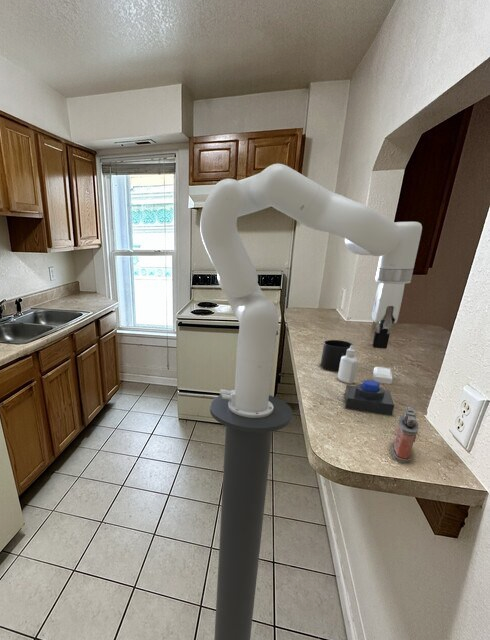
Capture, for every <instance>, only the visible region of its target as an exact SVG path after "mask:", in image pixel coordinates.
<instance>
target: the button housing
mask: <svg viewBox="0 0 490 640" xmlns="http://www.w3.org/2000/svg"><path fill="white" fill-rule="evenodd" d="M362 384H363V383H357V384H356V385H350V384H346V386H345V389H344V390H345V391H344V404H345V405H344V406H345V409H347V410H353V411H361V412H366V413H371V414H379V415H385V416H393V413H394V408H395V403H394V400H393V397H392V394H391V391H390V390H389V389H388V390H387V389H385V388H383V387H382V386H380V385H379V390H378V391H377V392H372V391H367V390H364V389H362Z"/></svg>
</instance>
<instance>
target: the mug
mask: <svg viewBox="0 0 490 640" xmlns="http://www.w3.org/2000/svg"><path fill="white" fill-rule="evenodd" d="M351 345H353V346H354V344H353V343H351V342H350V341H345V340H340V339H339V340H338V339H329V340H325V341H323V346H322V354H321V360H320V367H321V368H322V369H324V370H326V371H330V372H335V373H338V372H339V366H340V361H341V357H342V356H346V352H347V349H349V348H350V346H351Z"/></svg>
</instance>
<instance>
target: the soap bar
mask: <svg viewBox="0 0 490 640" xmlns="http://www.w3.org/2000/svg"><path fill="white" fill-rule="evenodd" d="M372 376H373V381H376V382H378V383H379V384H380V383H381V384H388V385H392V384H393V379H394V378H393V373H392V369H391V368H390V367H385V366H384V367H383V366H375V367H374V368H373V371H372Z"/></svg>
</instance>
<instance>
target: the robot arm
mask: <svg viewBox="0 0 490 640" xmlns="http://www.w3.org/2000/svg"><path fill="white" fill-rule="evenodd" d="M270 207H272V208H273V209H275V210H277V211H278V212H280V213H283V214H284V215H286V216H287V217H289V218H291V219H293V220H295V221H297V222H298V223H300V224H301V225H303V226H305V227H306V228H310V229H311V230H314V231H320V232H324V233H329V234H332V235H334V236H335V235H336V236H338V237H341V238H343V239H344V244H345V247H346V249H347V250H348V251H349V252H350V253H352V254H354V255H358V256H371V257H378V263H377V268H376V273H375V279H374V282H375V283H378V285H377V289H376V292H375V298H374V303H373V307H372V310H371V311H372V312H371V319H372V321H373V322H374V323H375V324H376V328H375V331H374V334H373V339H372V348H373V349H382V350H383V349H384V350H386V349H388V344H389V339H390V335H391V328H392V325H394V324H396V323H397V322H398V319H399V315H400V311H401V306H402V302H403V297H404V291H405V286H406V284H411V282H412V277H413V273H414V268H415V265H416V264H415V263H416V259H417V256H418V255H417V254H418V250H419V246H420V241H421V236H422V231H423V226H422V223H421V222H419V221H396V222H395V221H394V220H392V219H391V218H389V217H387V216H386V215H384V214H382V213H381V212H379V211H377V210H376V209H374V208H372V207H370V206H368V205H366V204H363V203H361V202H359V201H357V200H353V199H351V198H348V197H346V196H344V195H342V194H340V193H336V192H333V191H331V190H329V189H327V188H326V187H324V186H323V185H321V184H319V183H317V182H316V181H314V180H312V179H310V178H309V177H306V175H303V174H302V173H300V172H298V171H297V170H295V169H293V168H292V167H290V166H289V165H285V164H283V163H273V164H271V165H269V166H267V167H266V168H264V169H263V170H262V171H260V172H259V173H256V174H254V175H251V176H248V177H245V178H242V179H238V180H237V179H234V178H223V179H221V180H220V181H217V183H216V184H214V186H213V187H212V188H211V190H210V191H209V193H208V196H207V197H206V199H205V201H204V203H203V206H202V209H201V213H200V221H199V229H200V237H201V240H202V243H203V246H204V248H205V251H206V253H207V255H208V257H209V259H210V262H211V264H212V266H213V268H214V270H215V272H216V274H217V282H218V285H219V286H220V289H221V291H222V293H223V294H224V296H225V298H226V300H227V302H228V305H229V307H230V308H231V311H233V314H234V315H235V317H236V319H237V321H238V322H239V327H238V328H239V329H238V336H237V344H236V361H235V362H236V363H235V375H234V377H235V379H234V389H231V390H227V389H224V388H223V389H221V388H220V391H219V396H222V399H229V400H230V401H229V403H228V407H229V409H230V410H231V411H232V412H233V413H235V414H237V415H239V416H243V417H248V418H262V417H266V416H268V415H270V414H271V413H272V412H273V408H274V407H273V405H272V403H271V402H269V401H268V400H269V395H270V387H271V380H272V379H271V377H272V367H273V359H274V358H273V357H274V348H275V340H276V336H277V331H278V327H279V321H280V320H279V319H280V317H279V311H278V309H277V307H276V305H275V304H274V303H273V301H271V300H270V299H269V298H267V297H266V296H265V295H264V293H263V290H262V289H261V287H260V285H259V283H258V282H259V275H258V272H257V269H256V267H255V265H254V263H253V262H252V260H251V258H250V256H249V254H248V252H247V250H246V248H245V246H244V243H243V241H242V239H241V237H240V233H239V231H238V225H237V224H238V223H237V222H238V218H240V217H244V216H246V215H250V214H253V213H256V212H259V211H262V210H265V209H267V208H270Z"/></svg>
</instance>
